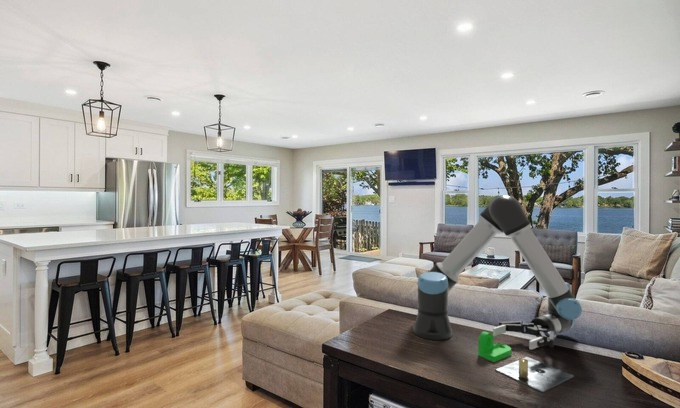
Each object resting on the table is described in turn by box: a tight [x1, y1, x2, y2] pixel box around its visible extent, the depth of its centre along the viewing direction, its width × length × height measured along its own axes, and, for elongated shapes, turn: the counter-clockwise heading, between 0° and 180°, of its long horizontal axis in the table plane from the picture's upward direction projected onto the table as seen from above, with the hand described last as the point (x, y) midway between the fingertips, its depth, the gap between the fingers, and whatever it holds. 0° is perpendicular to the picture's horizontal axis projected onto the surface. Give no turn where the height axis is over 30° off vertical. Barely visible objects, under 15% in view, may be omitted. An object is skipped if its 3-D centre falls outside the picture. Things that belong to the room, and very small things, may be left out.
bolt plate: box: [495, 356, 575, 393], centre depth 113 cm, size 15×17×6 cm
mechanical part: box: [477, 331, 512, 363], centre depth 126 cm, size 12×6×8 cm, turn 123°
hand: (511, 338), depth 126 cm, fingers open, 13 cm apart
